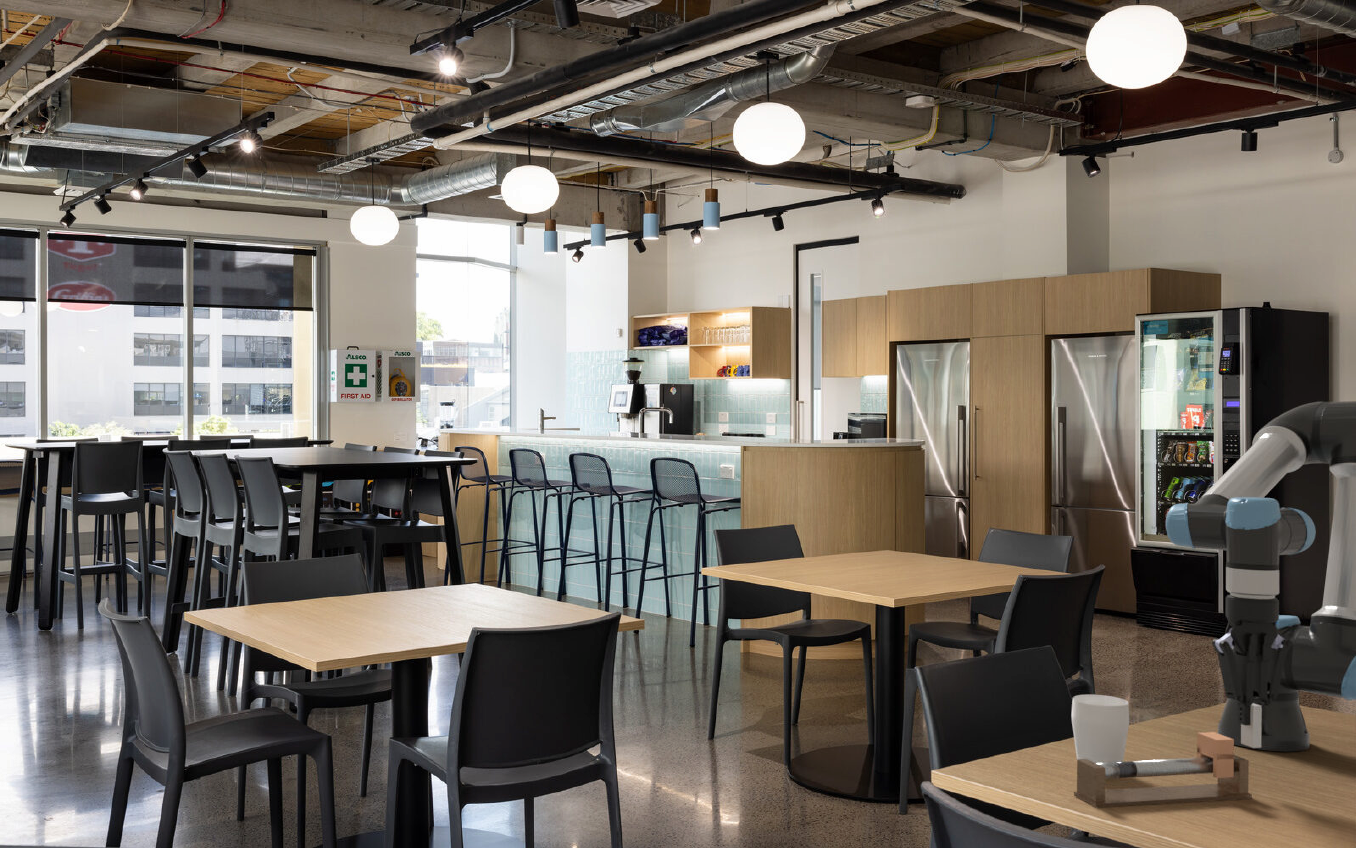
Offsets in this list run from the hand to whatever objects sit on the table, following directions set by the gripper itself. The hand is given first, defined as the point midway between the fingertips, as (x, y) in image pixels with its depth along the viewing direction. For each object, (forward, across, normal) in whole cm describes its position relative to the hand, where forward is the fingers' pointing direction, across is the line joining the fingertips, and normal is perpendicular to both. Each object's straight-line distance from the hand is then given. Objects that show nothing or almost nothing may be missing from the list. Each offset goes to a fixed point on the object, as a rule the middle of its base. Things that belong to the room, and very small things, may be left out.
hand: (1251, 745), depth 181 cm
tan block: (+4, +6, 0) cm, 8 cm away
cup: (+8, +18, -14) cm, 24 cm away
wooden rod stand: (+7, +15, 0) cm, 17 cm away
